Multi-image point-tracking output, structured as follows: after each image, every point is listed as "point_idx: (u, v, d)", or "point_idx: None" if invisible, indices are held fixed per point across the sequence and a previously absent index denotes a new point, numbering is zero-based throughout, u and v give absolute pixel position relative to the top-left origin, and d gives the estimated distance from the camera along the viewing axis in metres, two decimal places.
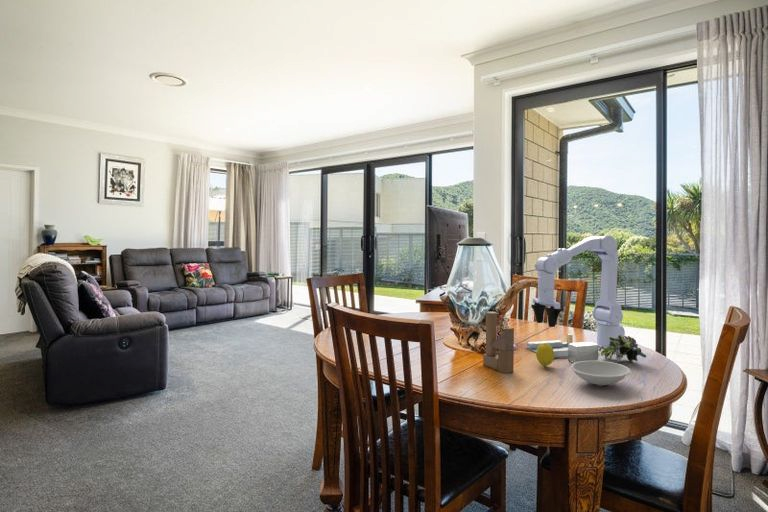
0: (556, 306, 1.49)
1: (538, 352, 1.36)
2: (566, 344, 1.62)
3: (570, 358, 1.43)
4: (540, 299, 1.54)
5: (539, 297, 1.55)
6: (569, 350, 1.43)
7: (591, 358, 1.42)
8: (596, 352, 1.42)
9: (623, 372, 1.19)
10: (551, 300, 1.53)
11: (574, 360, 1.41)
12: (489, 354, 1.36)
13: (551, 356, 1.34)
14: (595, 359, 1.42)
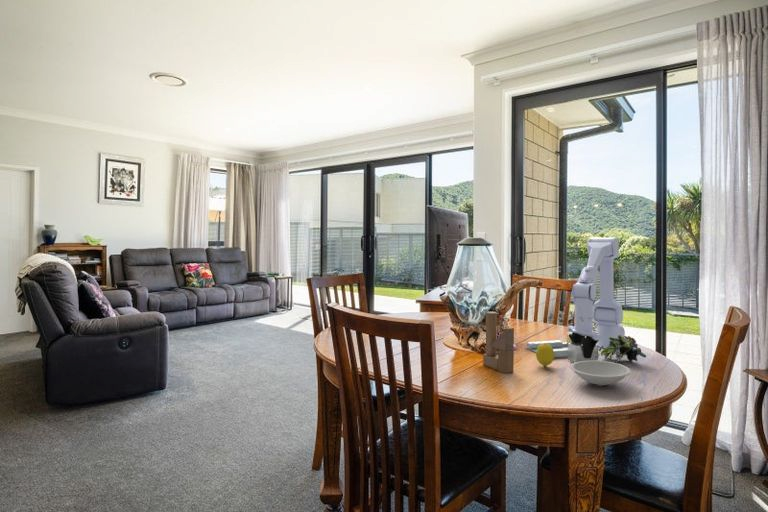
0: (596, 337, 1.36)
1: (538, 352, 1.36)
2: (566, 344, 1.62)
3: (570, 358, 1.43)
4: (577, 329, 1.42)
5: (576, 326, 1.42)
6: (569, 350, 1.43)
7: (591, 357, 1.42)
8: (596, 352, 1.42)
9: (623, 372, 1.19)
10: (590, 330, 1.40)
11: (574, 360, 1.41)
12: (489, 354, 1.36)
13: (551, 356, 1.34)
14: (595, 359, 1.42)
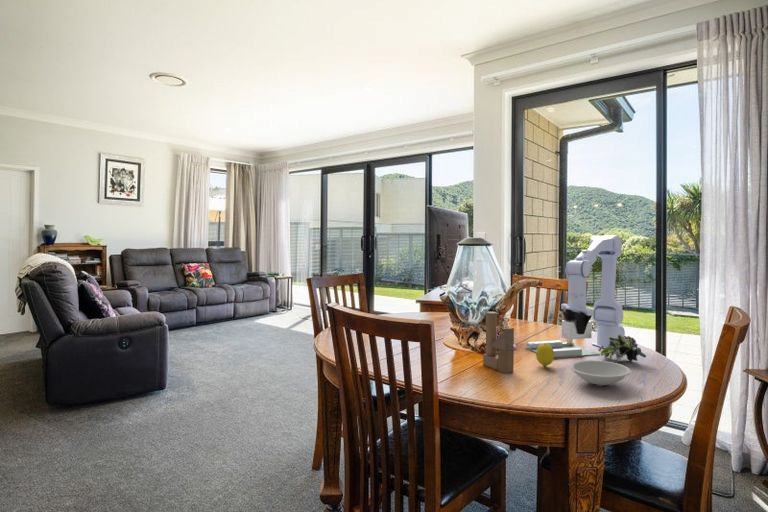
0: (590, 313, 1.38)
1: (538, 352, 1.36)
2: (566, 344, 1.62)
3: (564, 334, 1.45)
4: (571, 305, 1.44)
5: (570, 303, 1.44)
6: (563, 327, 1.45)
7: (585, 334, 1.44)
8: (589, 328, 1.44)
9: (623, 372, 1.19)
10: (583, 306, 1.42)
11: (568, 336, 1.43)
12: (489, 354, 1.36)
13: (551, 356, 1.34)
14: (588, 335, 1.44)
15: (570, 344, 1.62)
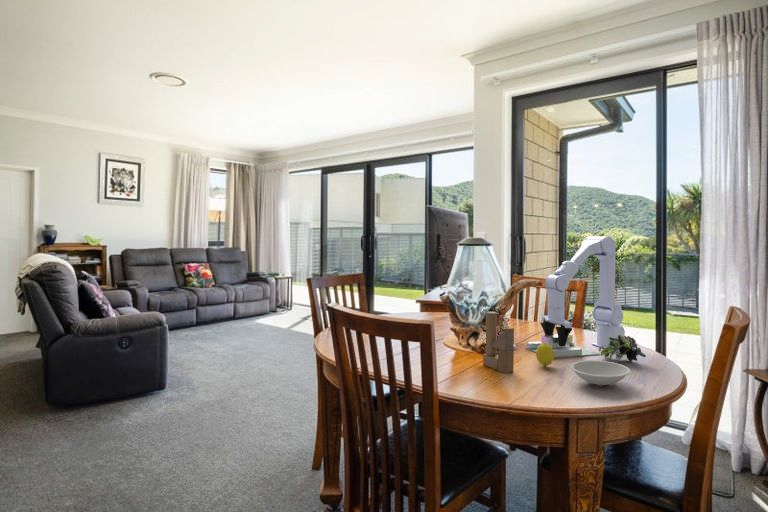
0: (567, 325, 1.46)
1: (538, 352, 1.36)
2: None
3: None
4: (550, 317, 1.52)
5: (549, 315, 1.52)
6: (542, 341, 1.53)
7: (563, 348, 1.52)
8: (567, 343, 1.52)
9: (623, 372, 1.19)
10: (561, 319, 1.50)
11: None
12: (489, 354, 1.36)
13: (551, 356, 1.34)
14: None
15: (570, 344, 1.62)
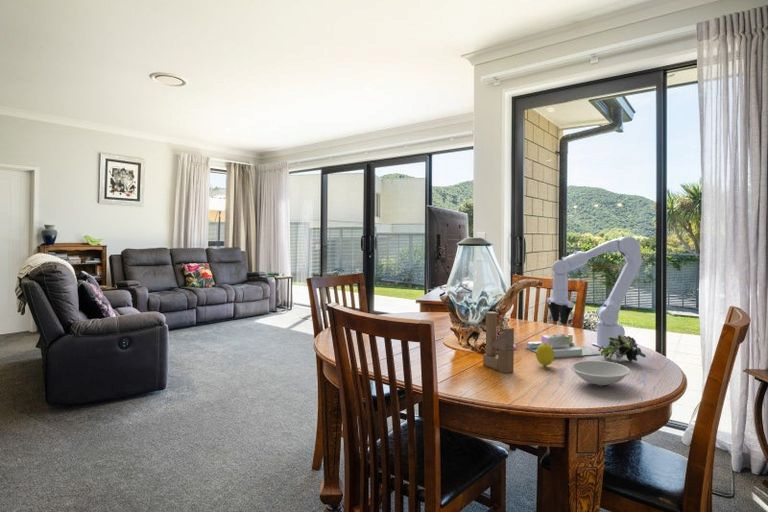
0: (570, 305, 1.61)
1: (538, 352, 1.36)
2: None
3: None
4: (555, 299, 1.67)
5: (554, 297, 1.68)
6: (542, 341, 1.53)
7: (563, 348, 1.52)
8: (567, 343, 1.52)
9: (623, 372, 1.19)
10: (565, 300, 1.66)
11: None
12: (489, 354, 1.36)
13: (551, 356, 1.34)
14: None
15: (570, 344, 1.62)
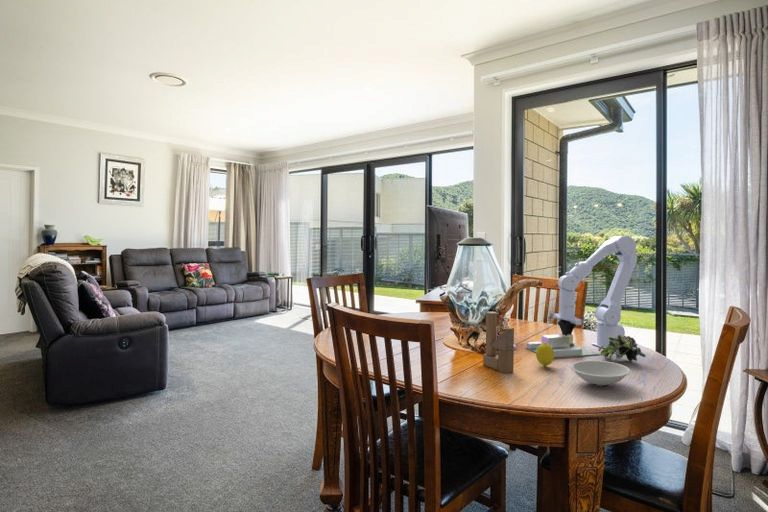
0: (577, 322, 1.57)
1: (538, 352, 1.36)
2: None
3: None
4: (561, 315, 1.63)
5: (560, 313, 1.64)
6: (542, 341, 1.53)
7: (563, 348, 1.52)
8: (567, 343, 1.52)
9: (623, 372, 1.19)
10: (572, 316, 1.62)
11: None
12: (489, 354, 1.36)
13: (551, 356, 1.34)
14: None
15: (570, 344, 1.62)
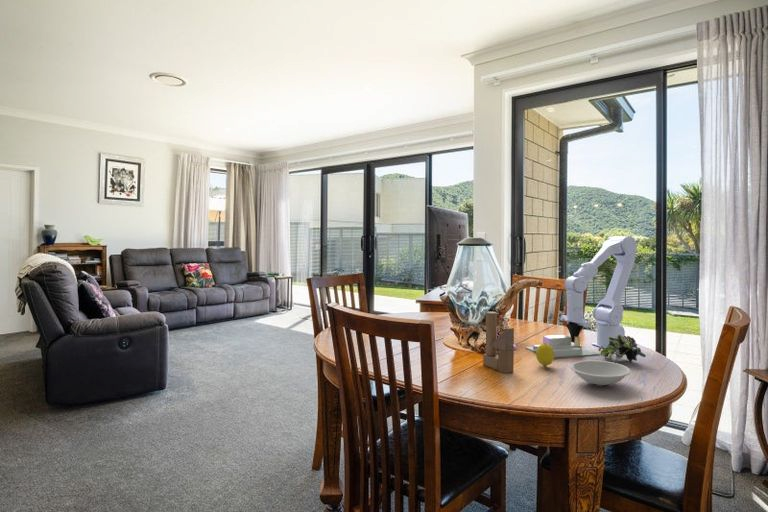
0: (586, 325, 1.53)
1: (538, 352, 1.36)
2: (574, 347, 1.57)
3: None
4: (569, 317, 1.58)
5: (568, 315, 1.59)
6: (544, 342, 1.52)
7: None
8: (569, 344, 1.51)
9: (623, 372, 1.19)
10: (580, 318, 1.57)
11: None
12: (489, 354, 1.36)
13: (551, 356, 1.34)
14: None
15: (578, 347, 1.58)
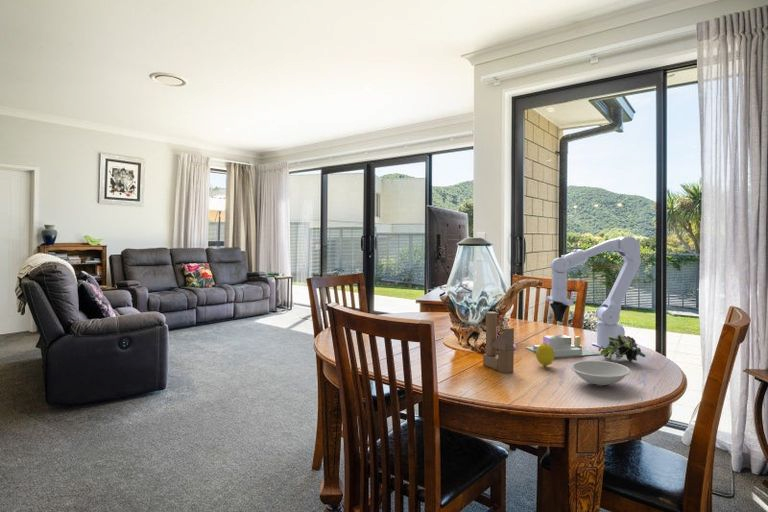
0: (569, 303, 1.59)
1: (538, 352, 1.36)
2: (574, 347, 1.57)
3: None
4: (554, 297, 1.65)
5: (553, 295, 1.66)
6: (544, 342, 1.52)
7: None
8: (569, 344, 1.51)
9: (623, 372, 1.19)
10: (564, 298, 1.64)
11: None
12: (489, 354, 1.36)
13: (551, 356, 1.34)
14: None
15: (578, 347, 1.58)
